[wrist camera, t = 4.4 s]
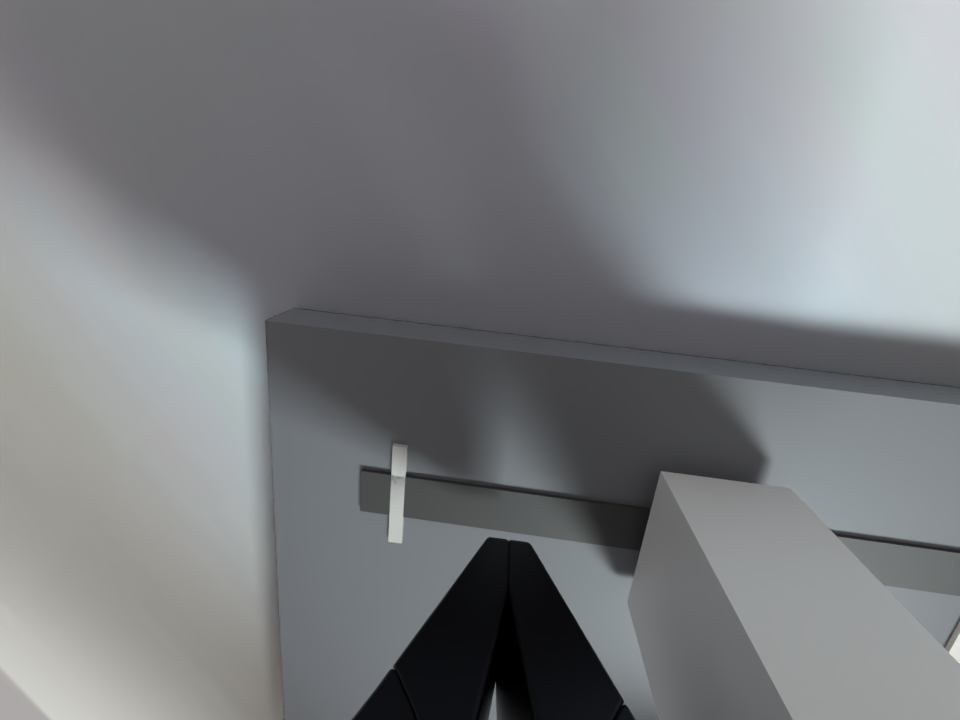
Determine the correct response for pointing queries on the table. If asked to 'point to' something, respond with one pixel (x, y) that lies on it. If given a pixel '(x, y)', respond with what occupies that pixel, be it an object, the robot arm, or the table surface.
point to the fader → (773, 615)
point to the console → (562, 480)
